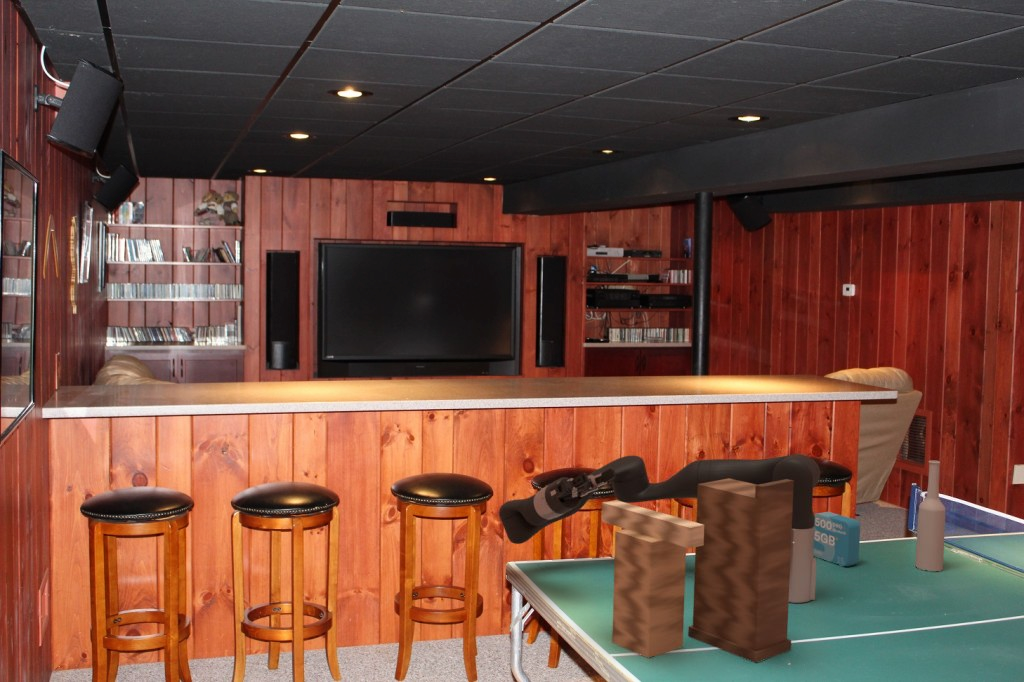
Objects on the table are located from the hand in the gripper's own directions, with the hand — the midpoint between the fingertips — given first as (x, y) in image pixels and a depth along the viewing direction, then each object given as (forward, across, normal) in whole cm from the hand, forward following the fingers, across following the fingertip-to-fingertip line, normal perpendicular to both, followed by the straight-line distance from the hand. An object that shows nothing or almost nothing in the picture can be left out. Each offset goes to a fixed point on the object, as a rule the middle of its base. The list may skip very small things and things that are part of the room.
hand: (600, 474), depth 217 cm
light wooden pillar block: (+3, -7, +37) cm, 38 cm away
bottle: (+10, +91, +42) cm, 100 cm away
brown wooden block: (+14, -7, +17) cm, 23 cm away
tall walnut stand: (+12, +9, +42) cm, 45 cm away
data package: (-5, +76, +33) cm, 83 cm away
